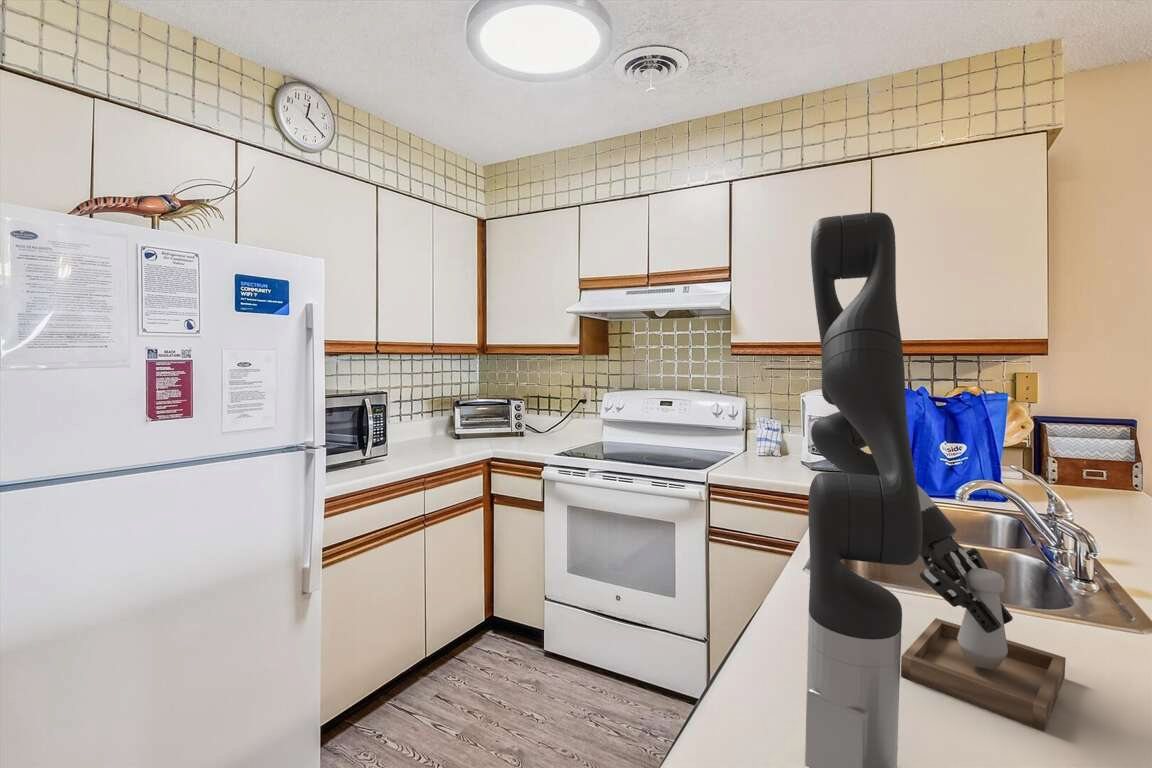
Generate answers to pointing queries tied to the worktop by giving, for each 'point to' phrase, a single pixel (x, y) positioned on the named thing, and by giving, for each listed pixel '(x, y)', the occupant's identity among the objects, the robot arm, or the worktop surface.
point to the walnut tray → (987, 675)
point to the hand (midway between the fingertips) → (1000, 625)
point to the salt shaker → (972, 637)
